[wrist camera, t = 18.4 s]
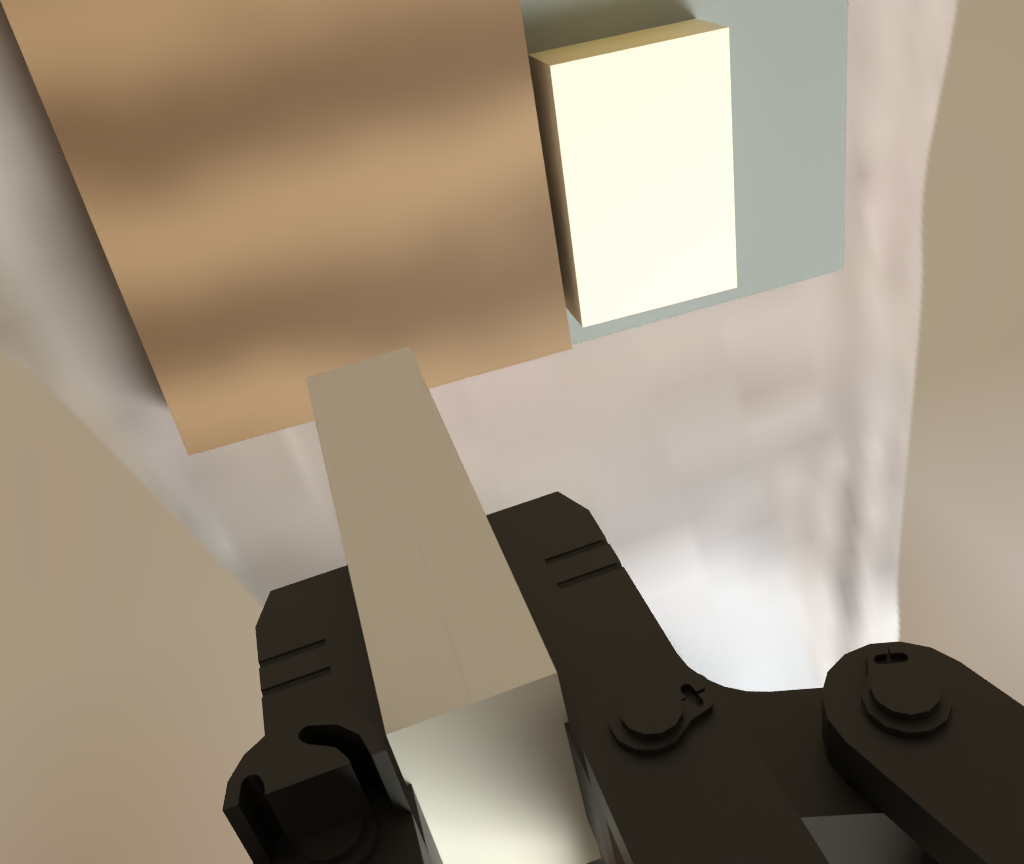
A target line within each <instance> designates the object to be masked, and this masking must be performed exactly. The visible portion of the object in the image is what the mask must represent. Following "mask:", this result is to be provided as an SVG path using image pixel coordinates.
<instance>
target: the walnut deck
mask: <svg viewBox="0 0 1024 864" xmlns="http://www.w3.org/2000/svg"><path fill="white" fill-rule="evenodd" d="M0 1H1V4H2V6H3V8H4V11H5V13H6V16H7V18H8V21H9V23H10V25H11V28H12V30H13V33H14V35H15V37H16V40H17V42H18V45H19V47H20V50H21V52H22V54H23V57H24V59H25V62H26V64H27V66H28V69H29V71H30V74H31V76H32V78H33V81H34V83H35V86H36V88H37V91H38V93H39V95H40V98H41V100H42V103H43V105H44V107H45V110H46V112H47V115H48V117H49V120H50V122H51V124H52V127H53V129H54V132H55V134H56V136H57V139H58V141H59V144H60V146H61V149H62V151H63V153H64V156H65V158H66V161H67V163H68V165H69V168H70V170H71V173H72V175H73V178H74V180H75V182H76V185H77V187H78V190H79V192H80V194H81V197H82V199H83V202H84V204H85V206H86V209H87V211H88V214H89V216H90V219H91V221H92V223H93V226H94V228H95V231H96V233H97V235H98V238H99V240H100V243H101V245H102V248H103V250H104V252H105V255H106V257H107V260H108V262H109V264H110V267H111V269H112V272H113V274H114V277H115V279H116V281H117V284H118V286H119V289H120V291H121V293H122V296H123V298H124V301H125V303H126V306H127V308H128V310H129V313H130V315H131V318H132V320H133V322H134V325H135V327H136V330H137V332H138V335H139V337H140V339H141V342H142V344H143V347H144V349H145V351H146V354H147V356H148V359H149V361H150V363H151V366H152V368H153V371H154V373H155V376H156V378H157V380H158V383H159V385H160V388H161V390H162V392H163V395H164V397H165V400H166V402H167V405H168V407H169V409H170V412H171V414H172V417H173V419H174V421H175V424H176V426H177V429H178V431H179V434H180V436H181V438H182V441H183V443H184V446H185V448H186V450H187V453H188V455H192V454H196V453H199V452H203V451H207V450H210V449H214V448H217V447H221V446H224V445H228V444H232V443H235V442H239V441H242V440H246V439H250V438H253V437H257V436H260V435H264V434H268V433H271V432H275V431H278V430H282V429H286V428H289V427H293V426H296V425H300V424H304V423H307V422H311V421H314V420H315V418H314V414H313V409H312V405H311V400H310V396H309V391H308V387H307V383H306V378H307V377H310V376H313V375H317V374H320V373H323V372H326V371H329V370H333V369H336V368H339V367H342V366H346V365H349V364H352V363H355V362H359V361H362V360H365V359H368V358H372V357H375V356H378V355H381V354H385V353H388V352H391V351H394V350H398V349H401V348H404V347H407V346H409V347H410V349H411V352H412V354H413V356H414V358H415V360H416V363H417V365H418V367H419V369H420V371H421V374H422V376H423V378H424V380H425V382H426V385H427V387H428V389H429V388H433V387H436V386H440V385H444V384H447V383H451V382H454V381H458V380H462V379H465V378H469V377H472V376H476V375H480V374H483V373H487V372H490V371H494V370H497V369H501V368H505V367H508V366H512V365H515V364H519V363H523V362H526V361H530V360H533V359H537V358H541V357H544V356H548V355H551V354H555V353H559V352H562V351H566V350H569V349H572V344H571V338H570V331H569V324H568V318H567V311H566V304H565V298H564V291H563V284H562V278H561V271H560V265H559V258H558V251H557V245H556V238H555V231H554V225H553V218H552V211H551V205H550V198H549V192H548V185H547V178H546V172H545V165H544V158H543V152H542V145H541V139H540V132H539V125H538V119H537V112H536V105H535V99H534V92H533V85H532V79H531V72H530V66H529V59H528V52H527V46H526V39H525V32H524V26H523V19H522V12H521V6H520V0H0Z"/></svg>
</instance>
